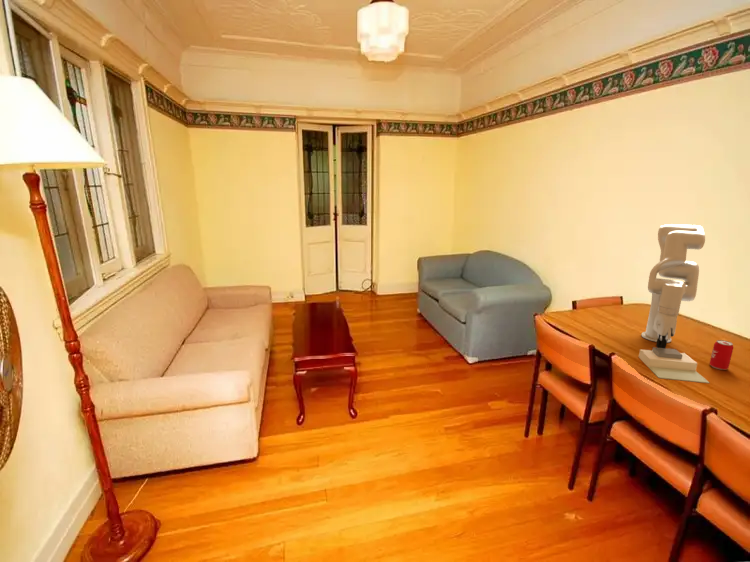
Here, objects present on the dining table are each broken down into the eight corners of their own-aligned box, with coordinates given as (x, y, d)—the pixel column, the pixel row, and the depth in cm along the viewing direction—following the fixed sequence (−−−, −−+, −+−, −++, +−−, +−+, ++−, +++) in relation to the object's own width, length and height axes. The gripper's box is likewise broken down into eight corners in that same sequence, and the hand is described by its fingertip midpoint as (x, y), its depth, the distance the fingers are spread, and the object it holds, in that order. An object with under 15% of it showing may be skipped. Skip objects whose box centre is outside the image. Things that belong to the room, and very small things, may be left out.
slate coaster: (652, 351, 171) (652, 347, 171) (674, 353, 169) (675, 349, 169) (658, 356, 166) (659, 352, 165) (681, 359, 163) (682, 354, 163)
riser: (638, 357, 174) (640, 349, 173) (683, 361, 170) (685, 353, 169) (648, 367, 165) (649, 358, 164) (695, 371, 161) (697, 363, 160)
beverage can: (718, 363, 167) (724, 339, 164) (731, 370, 161) (738, 345, 158) (705, 364, 167) (711, 339, 164) (718, 370, 161) (724, 345, 158)
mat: (648, 367, 165) (648, 366, 164) (696, 372, 160) (696, 371, 160) (658, 378, 156) (658, 377, 155) (709, 383, 151) (709, 382, 151)
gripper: (651, 304, 176) (644, 340, 180) (666, 315, 162) (658, 353, 166) (669, 306, 174) (662, 342, 179) (686, 316, 160) (678, 355, 165)
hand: (660, 347), depth 172 cm, fingers closed
